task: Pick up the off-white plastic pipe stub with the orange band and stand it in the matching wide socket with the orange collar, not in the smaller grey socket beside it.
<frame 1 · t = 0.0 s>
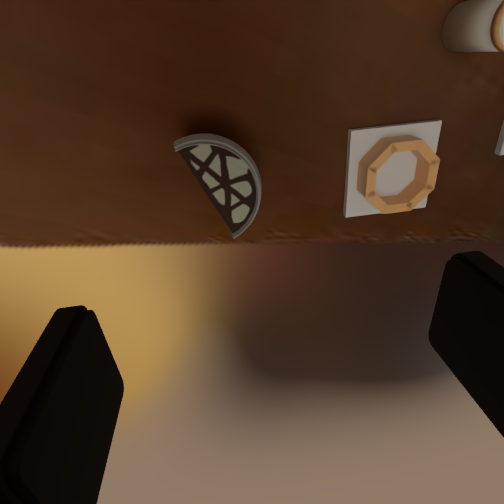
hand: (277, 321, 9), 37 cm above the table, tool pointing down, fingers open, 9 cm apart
food container: (226, 158, 44), on the table
wide socket: (387, 169, 47), on the table
pipe: (462, 27, 39), on the table
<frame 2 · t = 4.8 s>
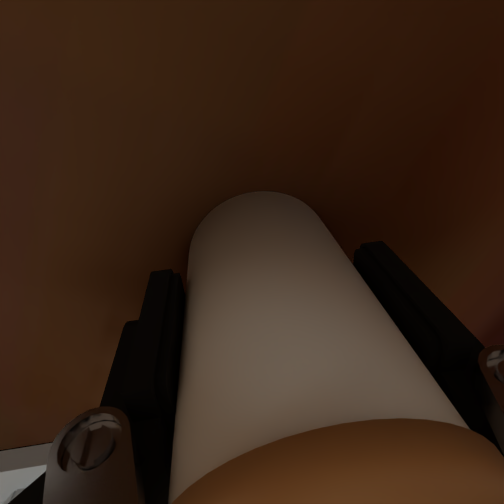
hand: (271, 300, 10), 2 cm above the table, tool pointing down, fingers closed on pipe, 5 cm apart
narrow socket: (73, 492, 18), on the table
pipe: (260, 258, 12), on the table, touching gripper
when the fingers open (5 cm above the table, at t = 11.6 s): pipe drops 1 cm, resting on wide socket.
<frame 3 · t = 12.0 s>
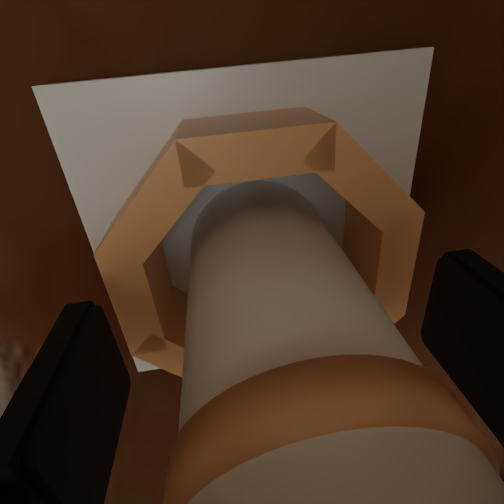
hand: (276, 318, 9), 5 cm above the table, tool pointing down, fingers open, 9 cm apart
wide socket: (252, 231, 14), on the table
pipe: (257, 243, 13), point 1 cm above the table, touching wide socket
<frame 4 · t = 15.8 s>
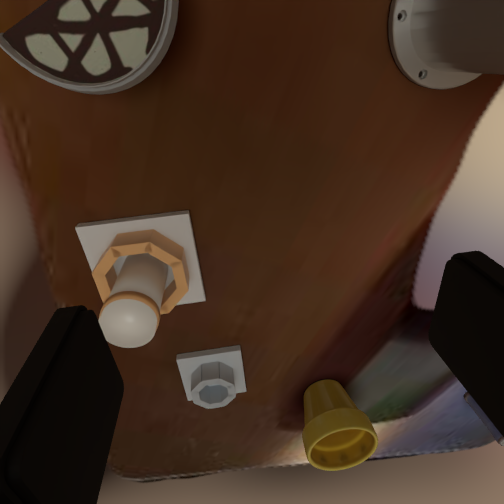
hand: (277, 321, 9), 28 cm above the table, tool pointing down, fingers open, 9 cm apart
plant pot: (322, 391, 56), on the table
food container: (133, 41, 29), on the table
narrow socket: (213, 371, 50), on the table
wide socket: (147, 262, 40), on the table
pipe: (146, 267, 39), point 1 cm above the table, touching wide socket
flask: (486, 389, 62), on the table
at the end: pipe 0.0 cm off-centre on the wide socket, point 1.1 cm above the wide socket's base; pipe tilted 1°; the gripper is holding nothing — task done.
